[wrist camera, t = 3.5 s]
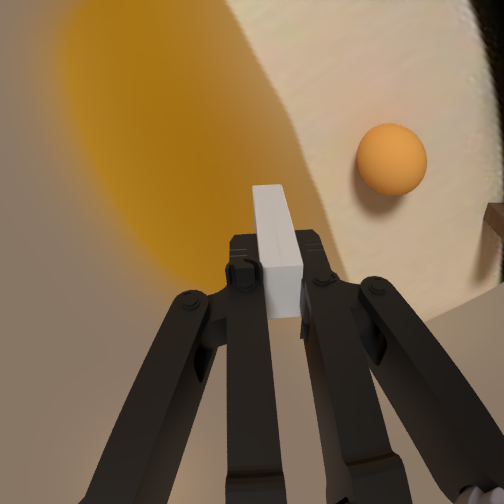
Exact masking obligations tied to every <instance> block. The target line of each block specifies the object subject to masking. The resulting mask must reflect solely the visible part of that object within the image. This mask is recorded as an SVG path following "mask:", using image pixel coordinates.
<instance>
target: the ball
mask: <svg viewBox="0 0 504 504" xmlns="http://www.w3.org/2000/svg"><path fill="white" fill-rule="evenodd" d="M357 164H358V168H359V171H360V174H361V176H362V177H363V179H364V180H365V182H366V183H367V184H368V185H369V186H370V187H371V188H373V189H374V190H376V191H377V192H379V193H382V194H385V195H390V196H398V195H403V194H406V193H408V192H410V191H412V190H413V189H415V188H416V187H417V186H418V185H419V184H420V182H421V181H422V179H423V177H424V175H425V172H426V168H427V156H426V152H425V149H424V146H423V144H422V142H421V141H420V139H419V138H418V137H417V136H416V135H415V134H414V133H413V132H412V131H411V130H409V129H407V128H405V127H403V126H401V125H397V124H382V125H379V126H376V127H374V128H373V129H371V130H370V131H369V132H367V133H366V134H365V136H364V137H363V138H362V140H361V142H360V144H359V147H358V151H357Z"/></svg>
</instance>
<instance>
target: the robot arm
mask: <svg viewBox="0 0 504 504" xmlns="http://www.w3.org/2000/svg"><path fill="white" fill-rule="evenodd" d="M252 188H253V206H254V225H255V234H241V235H234V236H233V238H232V239H231V241H230V253H229V255H230V257H229V263H228V264H227V265H226V268H225V272H226V280H227V285H226V287H225V288H224V289H222V290H221V291H219V292H217V293H215V294H212V295H208V296H207V295H206V294H204V293H203V292H201V291H198V290H189V291H185V292H182V293H181V294H179V295H178V296H177V297H176V298H175V299H174V301H173V303H172V304H171V306H170V308H169V311H168V312H167V314H166V316H165V318H164V321H163V323H162V325H161V327H160V329H159V331H158V333H157V335H156V337H155V339H154V341H153V343H152V345H151V347H150V349H149V352H148V354H147V356H146V358H145V360H144V362H143V364H142V366H141V368H140V370H139V373H138V375H137V377H136V379H135V381H134V383H133V386H132V388H131V390H130V392H129V394H128V396H127V399H126V401H125V403H124V405H123V407H122V410H121V412H120V414H119V416H118V419H117V421H116V423H115V426H114V428H113V430H112V433H111V435H110V437H109V439H108V442H107V444H106V447H105V449H104V451H103V454H102V456H101V459H100V461H99V463H98V465H97V468H96V470H95V473H94V475H93V478H92V480H91V483H90V485H89V488H88V490H87V493H86V495H85V497H84V498H83V499H82V500H81V501H80V503H78V504H167V502H168V499H169V496H170V492H171V490H172V487H173V484H174V480H175V477H176V474H177V471H178V468H179V465H180V462H181V459H182V456H183V452H184V450H185V447H186V444H187V441H188V437H189V435H190V431H191V428H192V425H193V422H194V419H195V416H196V413H197V410H198V407H199V404H200V401H201V398H202V395H203V392H204V389H205V386H206V383H207V380H208V377H209V374H210V370H211V367H212V364H213V361H214V358H215V355H216V352H217V348H218V347H219V346H222V345H225V344H227V461H228V462H227V463H228V471H227V477H226V485H225V489H226V490H225V495H226V504H287V499H286V489H285V480H284V474H283V471H282V462H281V451H280V440H279V430H278V420H277V410H276V400H275V390H274V381H273V370H272V360H271V351H270V341H269V331H268V322H267V319H278V318H290V317H299V316H300V311H301V316H302V322H301V333H300V339H304V345H305V350H306V356H307V362H308V367H309V373H310V379H311V385H312V390H313V396H314V402H315V408H316V414H317V421H318V427H319V433H320V439H321V446H322V453H323V459H324V466H325V473H326V481H327V485H326V501H327V504H412V499H411V494H410V490H409V485H408V481H407V476H406V472H405V468H404V465H403V462H402V459H401V458H400V456H399V455H398V454H396V453H394V452H393V451H392V449H391V446H390V443H389V438H388V434H387V430H386V427H385V423H384V419H383V415H382V411H381V408H380V404H379V401H378V397H377V393H376V390H375V386H374V383H373V380H372V376H371V373H370V370H371V371H372V373H373V375H374V376H375V378H376V380H377V381H378V383H379V385H380V386H381V388H382V390H383V391H384V393H385V395H386V396H387V398H388V400H389V401H390V403H391V405H392V406H393V408H394V409H395V412H396V413H397V415H398V417H399V418H400V420H401V422H402V423H403V425H404V427H405V429H406V430H407V432H408V434H409V436H410V437H411V439H412V440H413V443H414V444H415V446H416V448H417V449H418V451H419V453H420V455H421V456H422V458H423V460H424V462H425V464H426V466H427V467H428V469H429V471H430V473H431V474H432V477H433V478H434V480H435V482H436V483H437V485H438V486H439V488H440V489H441V491H442V492H443V493H444V494H445V496H446V497H447V498H448V499H449V500H450V501H451V502H452V503H453V504H504V435H503V434H502V432H501V430H500V429H499V427H498V426H497V424H496V423H495V421H494V419H493V418H492V417H491V415H490V413H489V412H488V410H487V409H486V407H485V406H484V404H483V403H482V402H481V400H480V399H479V397H478V396H477V394H476V393H475V391H474V390H473V388H472V387H471V386H470V384H469V383H468V381H467V380H466V379H465V377H464V376H463V374H462V373H461V372H460V370H459V369H458V367H457V366H456V365H455V363H454V362H453V361H452V359H451V358H450V357H449V355H448V354H447V353H446V351H445V350H444V349H443V347H442V346H441V345H440V343H439V342H438V341H437V339H436V338H435V337H434V336H433V334H432V333H431V332H430V331H429V329H428V328H427V327H426V325H425V324H424V323H423V321H422V320H421V319H420V318H419V316H418V315H417V314H416V313H415V311H414V310H413V309H412V308H411V307H410V305H409V304H408V303H407V302H406V300H405V299H404V298H403V297H402V296H401V294H400V293H399V292H398V291H397V290H396V288H395V287H394V286H393V285H392V284H391V283H390V282H389V281H388V280H387V279H384V278H382V277H377V276H371V277H367V278H365V279H364V280H363V281H362V282H361V285H360V284H353V283H348V282H344V281H342V280H340V278H339V277H338V275H337V274H336V273H334V272H333V271H332V270H331V268H330V265H329V262H328V259H327V256H326V253H325V251H324V248H323V245H322V242H321V240H320V237H319V235H318V234H317V233H316V232H314V231H313V230H312V229H310V230H294V228H293V224H292V221H291V217H290V213H289V210H288V206H287V203H286V199H285V195H284V192H283V188H282V185H281V184H279V185H261V186H252ZM369 368H370V369H369Z"/></svg>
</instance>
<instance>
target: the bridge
mask: <svg viewBox="0 0 504 504" xmlns="http://www.w3.org/2000/svg"><path fill="white" fill-rule="evenodd" d="M483 219H484V220H485V221H486V222H487V223H488V224H489V225H490V226H491V227H492V228H493V229H494V231H495V232H496V233H497V234H498V235H499V236H500V237H501V238H502V240H503V241H504V203H488V206H487V209H486V212H485V215H484V218H483Z"/></svg>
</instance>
